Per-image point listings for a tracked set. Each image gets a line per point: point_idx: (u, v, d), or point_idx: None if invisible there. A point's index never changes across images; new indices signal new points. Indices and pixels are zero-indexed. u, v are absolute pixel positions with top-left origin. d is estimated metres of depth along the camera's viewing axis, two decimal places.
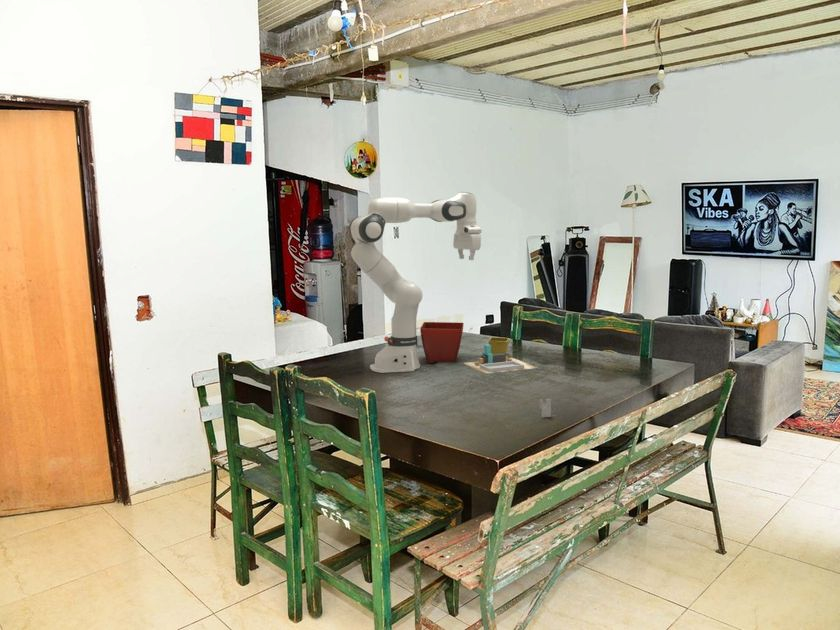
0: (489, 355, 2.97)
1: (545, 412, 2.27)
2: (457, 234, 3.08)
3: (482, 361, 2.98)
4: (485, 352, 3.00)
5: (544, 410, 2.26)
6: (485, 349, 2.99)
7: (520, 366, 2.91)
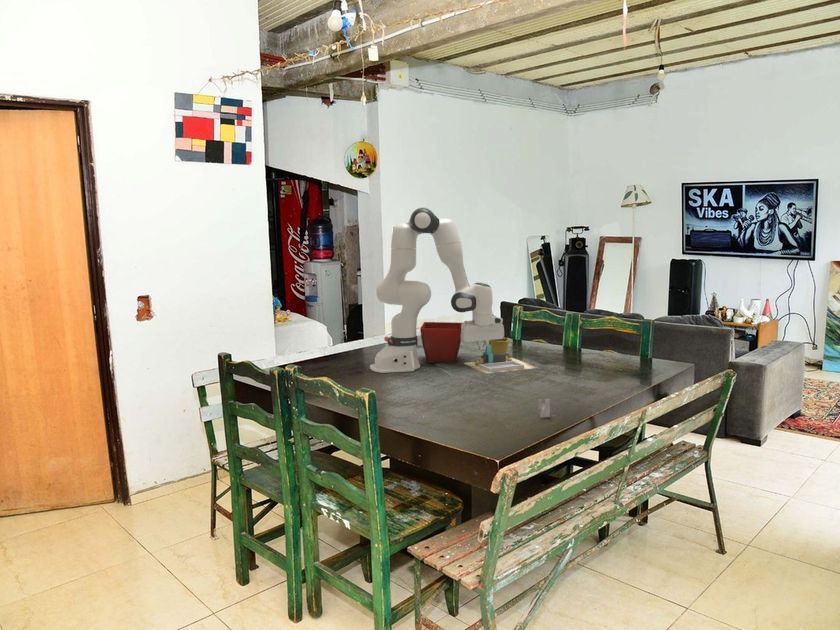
0: (489, 355, 2.97)
1: (544, 412, 2.26)
2: (473, 327, 2.93)
3: (482, 361, 2.98)
4: (485, 352, 3.00)
5: (543, 410, 2.26)
6: None
7: (520, 366, 2.91)
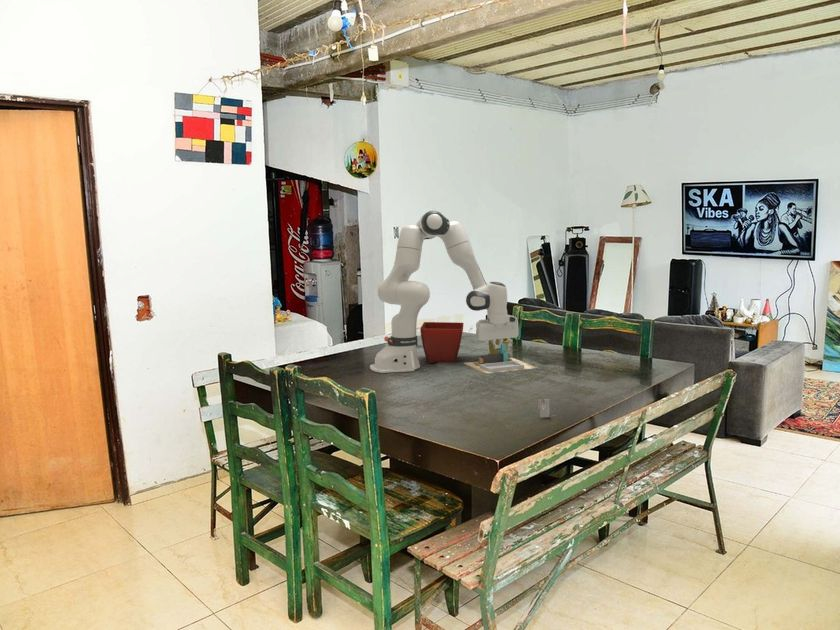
0: (504, 354, 3.00)
1: (544, 412, 2.26)
2: (488, 325, 2.96)
3: (482, 361, 2.98)
4: (500, 351, 3.02)
5: (543, 410, 2.26)
6: None
7: (520, 366, 2.91)
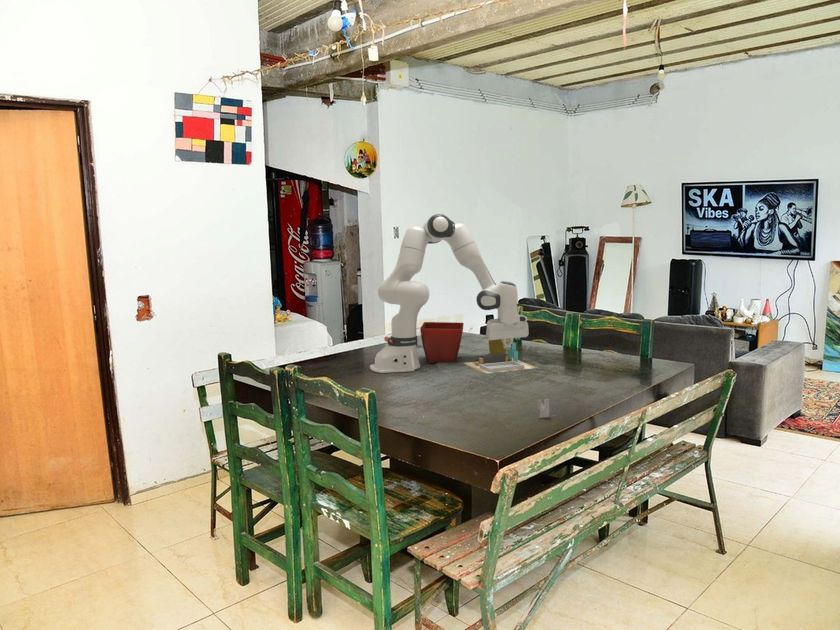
0: (514, 352, 3.02)
1: (543, 412, 2.26)
2: (498, 325, 2.98)
3: (482, 361, 2.98)
4: (510, 350, 3.04)
5: (542, 410, 2.26)
6: None
7: (520, 366, 2.91)
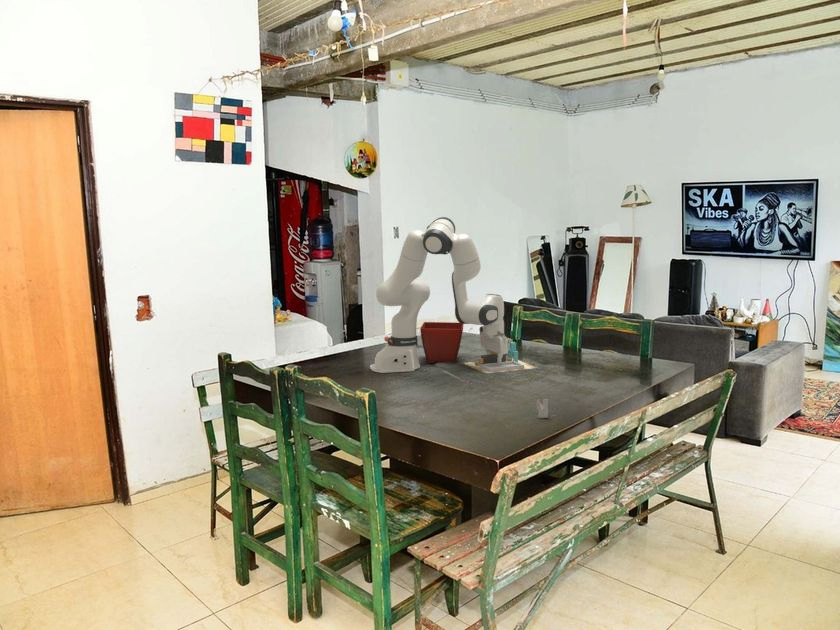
0: (514, 352, 3.02)
1: (542, 412, 2.26)
2: None
3: (482, 361, 2.98)
4: (510, 350, 3.04)
5: (541, 410, 2.26)
6: (510, 347, 3.04)
7: (520, 366, 2.91)
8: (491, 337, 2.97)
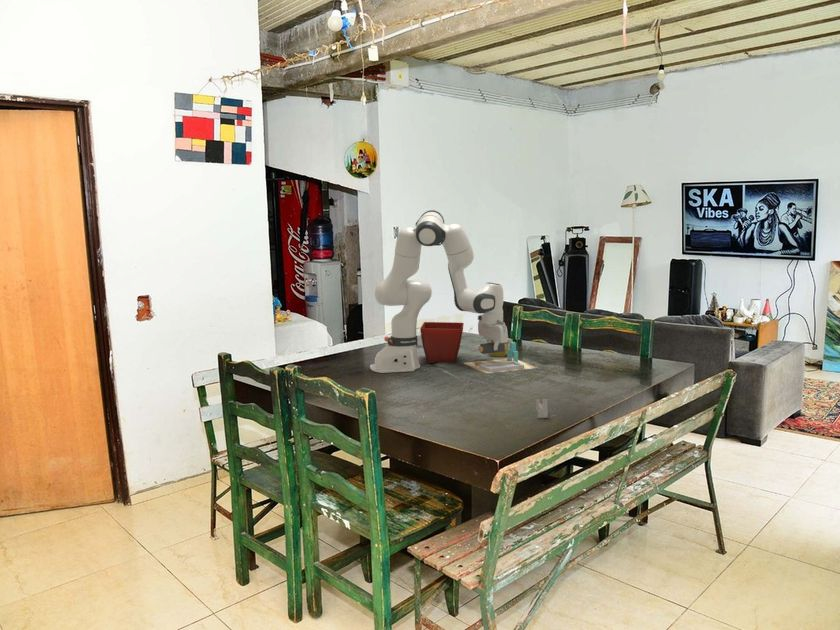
0: (514, 352, 3.02)
1: (541, 413, 2.26)
2: None
3: (482, 349, 2.99)
4: (510, 350, 3.04)
5: (540, 410, 2.26)
6: (510, 347, 3.04)
7: (520, 366, 2.91)
8: (490, 326, 2.98)
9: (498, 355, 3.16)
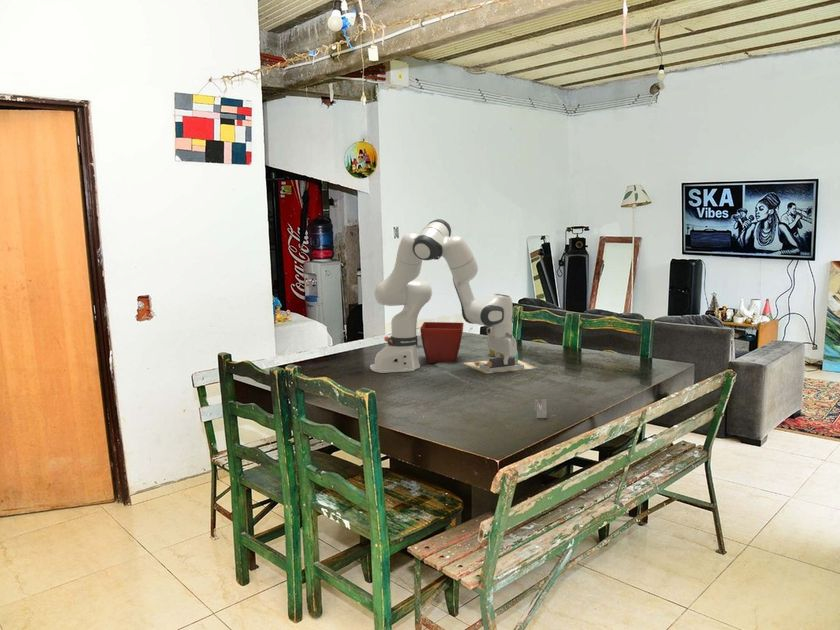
0: None
1: (540, 413, 2.26)
2: None
3: (490, 365, 2.89)
4: None
5: (539, 411, 2.26)
6: None
7: (520, 366, 2.91)
8: (499, 339, 2.88)
9: None
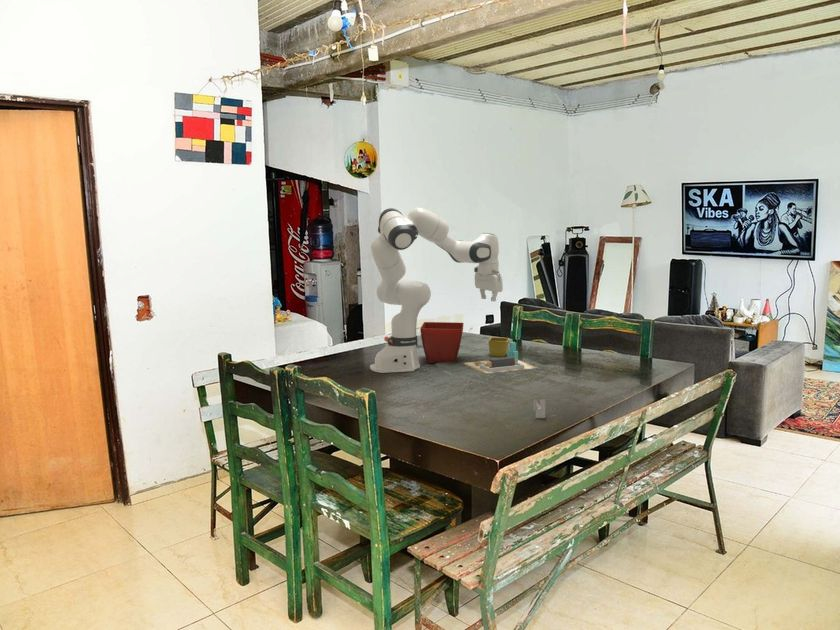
0: (514, 352, 3.02)
1: (539, 413, 2.26)
2: None
3: (490, 365, 2.89)
4: (510, 350, 3.04)
5: (538, 411, 2.25)
6: (510, 347, 3.04)
7: (520, 366, 2.91)
8: (486, 276, 3.00)
9: (498, 355, 3.16)
